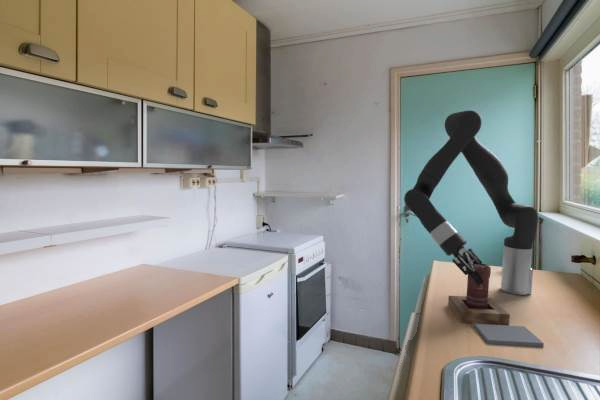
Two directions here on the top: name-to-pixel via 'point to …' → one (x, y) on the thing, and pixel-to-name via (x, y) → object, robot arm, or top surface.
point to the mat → (508, 335)
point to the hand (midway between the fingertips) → (484, 280)
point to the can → (478, 288)
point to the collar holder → (478, 312)
